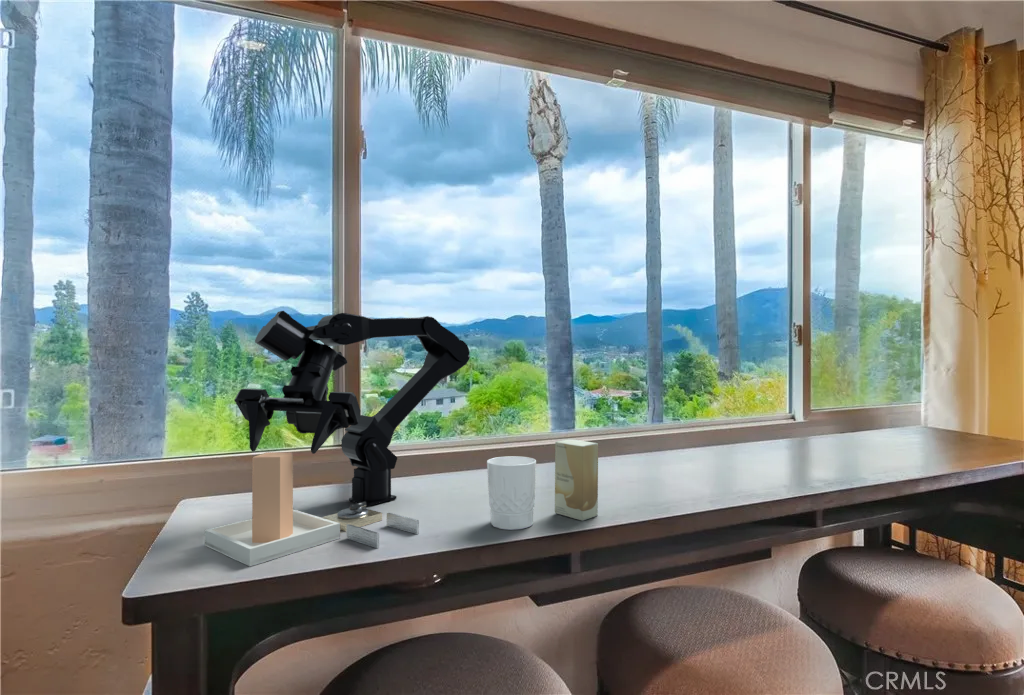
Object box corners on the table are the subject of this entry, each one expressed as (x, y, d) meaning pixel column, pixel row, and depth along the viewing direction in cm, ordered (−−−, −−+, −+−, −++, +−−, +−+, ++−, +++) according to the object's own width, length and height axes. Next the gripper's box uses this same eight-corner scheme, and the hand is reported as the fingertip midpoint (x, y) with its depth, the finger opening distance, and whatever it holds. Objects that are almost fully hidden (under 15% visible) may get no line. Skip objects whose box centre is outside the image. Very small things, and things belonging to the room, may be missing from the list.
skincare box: (553, 513, 88) (552, 441, 89) (570, 508, 91) (569, 438, 92) (584, 521, 84) (582, 445, 84) (600, 516, 87) (599, 442, 87)
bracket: (359, 514, 89) (359, 494, 89) (424, 531, 80) (424, 509, 80) (312, 527, 82) (312, 506, 82) (376, 548, 73) (376, 524, 73)
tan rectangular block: (266, 533, 78) (266, 452, 78) (292, 533, 78) (293, 452, 78) (252, 542, 74) (252, 457, 74) (279, 542, 74) (280, 457, 74)
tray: (291, 522, 85) (291, 508, 85) (340, 538, 77) (340, 523, 77) (204, 545, 74) (204, 530, 75) (250, 566, 66) (250, 549, 67)
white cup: (547, 523, 83) (546, 460, 83) (511, 535, 78) (510, 467, 78) (512, 513, 89) (512, 454, 89) (477, 523, 83) (476, 460, 84)
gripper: (374, 404, 96) (353, 480, 85) (272, 400, 96) (239, 476, 85) (363, 363, 88) (339, 442, 77) (252, 359, 88) (213, 437, 77)
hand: (282, 451), depth 79 cm, fingers open, 9 cm apart
